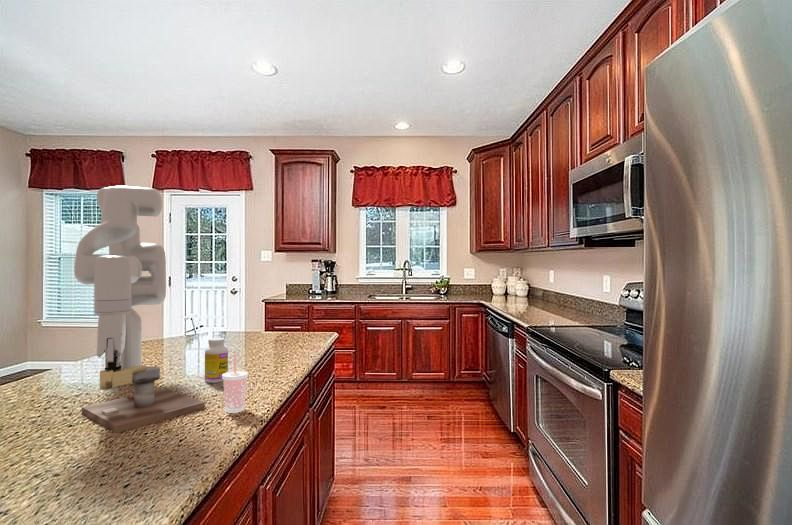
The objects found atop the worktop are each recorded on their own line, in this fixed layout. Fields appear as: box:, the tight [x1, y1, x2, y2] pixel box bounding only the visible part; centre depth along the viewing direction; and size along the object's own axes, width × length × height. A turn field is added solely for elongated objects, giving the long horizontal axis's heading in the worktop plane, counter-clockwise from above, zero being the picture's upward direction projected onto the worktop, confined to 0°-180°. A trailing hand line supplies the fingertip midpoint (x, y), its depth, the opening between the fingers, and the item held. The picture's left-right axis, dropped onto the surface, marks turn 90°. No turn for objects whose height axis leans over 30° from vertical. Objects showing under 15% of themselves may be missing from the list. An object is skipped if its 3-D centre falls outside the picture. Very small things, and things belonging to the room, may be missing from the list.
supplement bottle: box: [204, 337, 229, 384], centre depth 137 cm, size 7×7×13 cm
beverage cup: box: [222, 353, 249, 414], centre depth 111 cm, size 6×6×14 cm
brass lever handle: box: [99, 364, 161, 391], centre depth 107 cm, size 13×7×4 cm, turn 146°
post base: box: [81, 381, 206, 434], centre depth 110 cm, size 20×20×7 cm
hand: (113, 382), depth 107 cm, fingers closed
